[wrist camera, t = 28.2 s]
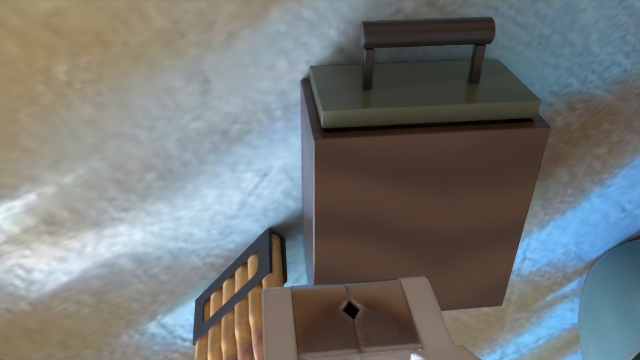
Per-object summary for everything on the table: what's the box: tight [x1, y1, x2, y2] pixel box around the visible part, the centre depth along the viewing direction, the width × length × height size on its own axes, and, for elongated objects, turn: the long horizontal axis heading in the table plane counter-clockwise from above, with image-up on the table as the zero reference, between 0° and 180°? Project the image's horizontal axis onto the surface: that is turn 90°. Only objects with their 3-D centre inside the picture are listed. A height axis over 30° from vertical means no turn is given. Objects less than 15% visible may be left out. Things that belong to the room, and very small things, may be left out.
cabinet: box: [301, 80, 551, 311], centre depth 40 cm, size 16×15×9 cm
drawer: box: [310, 17, 540, 133], centre depth 38 cm, size 19×13×7 cm
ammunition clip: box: [193, 229, 287, 360], centre depth 43 cm, size 11×2×12 cm, turn 138°
